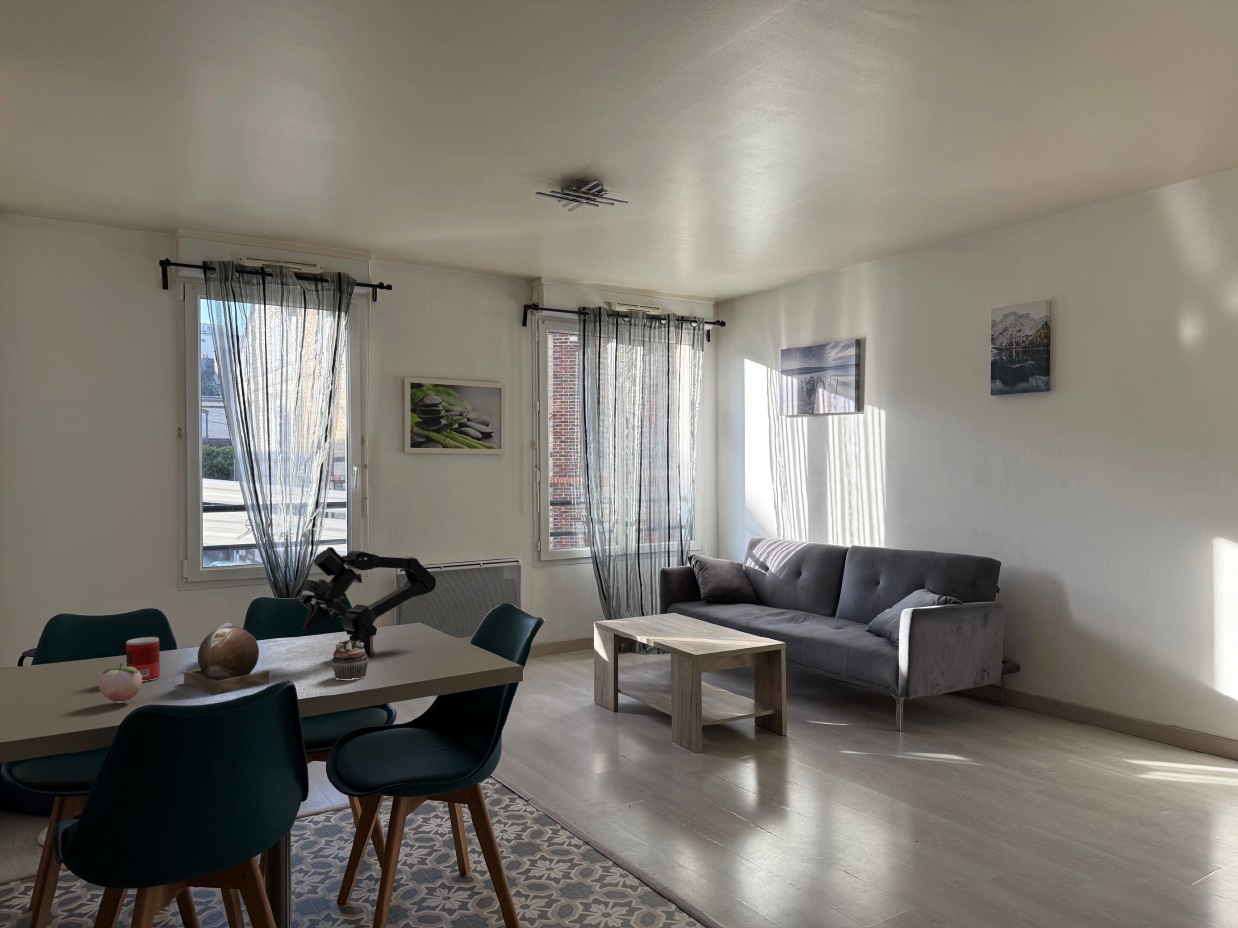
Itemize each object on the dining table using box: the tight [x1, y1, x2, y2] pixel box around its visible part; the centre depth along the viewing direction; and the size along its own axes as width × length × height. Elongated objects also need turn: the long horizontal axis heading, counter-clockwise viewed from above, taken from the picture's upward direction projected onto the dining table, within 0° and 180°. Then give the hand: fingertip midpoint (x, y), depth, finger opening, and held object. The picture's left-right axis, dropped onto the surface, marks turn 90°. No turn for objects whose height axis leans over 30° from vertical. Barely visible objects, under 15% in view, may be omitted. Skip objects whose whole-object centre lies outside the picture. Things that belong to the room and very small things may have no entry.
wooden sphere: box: [197, 625, 260, 681], centre depth 231 cm, size 15×15×15 cm
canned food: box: [125, 636, 161, 680], centre depth 237 cm, size 8×8×11 cm
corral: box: [183, 668, 271, 695], centre depth 231 cm, size 14×19×3 cm
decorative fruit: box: [98, 662, 143, 702], centre depth 212 cm, size 9×8×10 cm
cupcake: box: [331, 639, 370, 679], centre depth 234 cm, size 10×10×10 cm
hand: (304, 628), depth 247 cm, fingers closed
